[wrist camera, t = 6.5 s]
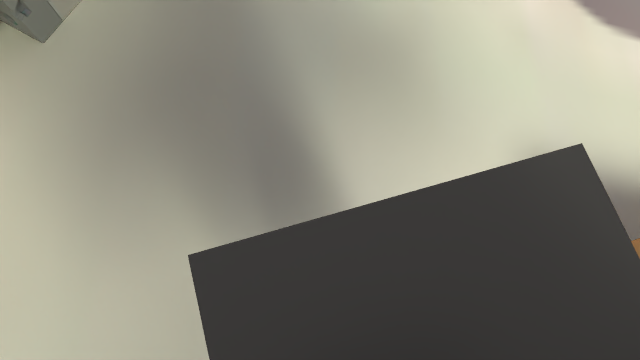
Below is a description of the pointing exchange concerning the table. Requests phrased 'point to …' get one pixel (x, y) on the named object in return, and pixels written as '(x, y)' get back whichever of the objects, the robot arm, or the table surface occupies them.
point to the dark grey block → (436, 275)
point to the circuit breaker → (36, 15)
